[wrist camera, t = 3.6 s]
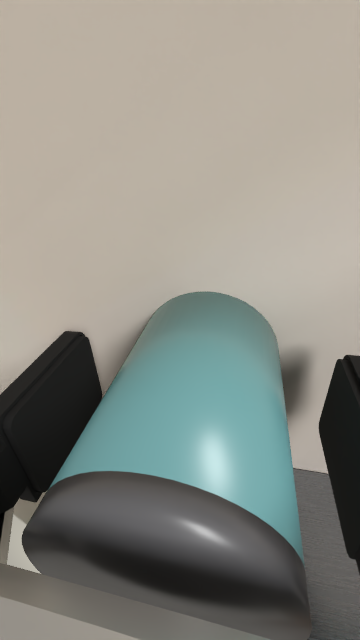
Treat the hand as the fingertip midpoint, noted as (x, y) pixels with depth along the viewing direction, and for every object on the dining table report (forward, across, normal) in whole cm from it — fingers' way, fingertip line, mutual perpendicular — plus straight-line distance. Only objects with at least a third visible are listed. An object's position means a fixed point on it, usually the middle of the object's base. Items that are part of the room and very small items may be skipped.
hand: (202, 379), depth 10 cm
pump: (+2, 0, 0) cm, 2 cm away
